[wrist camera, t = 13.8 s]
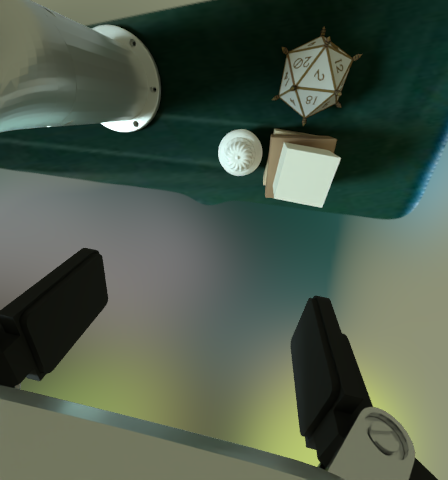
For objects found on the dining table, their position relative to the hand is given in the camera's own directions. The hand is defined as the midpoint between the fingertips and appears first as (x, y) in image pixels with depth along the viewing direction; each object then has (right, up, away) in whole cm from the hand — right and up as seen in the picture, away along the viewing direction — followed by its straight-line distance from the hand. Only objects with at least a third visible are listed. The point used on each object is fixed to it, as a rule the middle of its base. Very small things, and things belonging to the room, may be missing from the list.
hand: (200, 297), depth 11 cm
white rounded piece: (+4, +16, +26) cm, 31 cm away
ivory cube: (+10, +11, +17) cm, 23 cm away
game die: (+12, +23, +20) cm, 33 cm away
